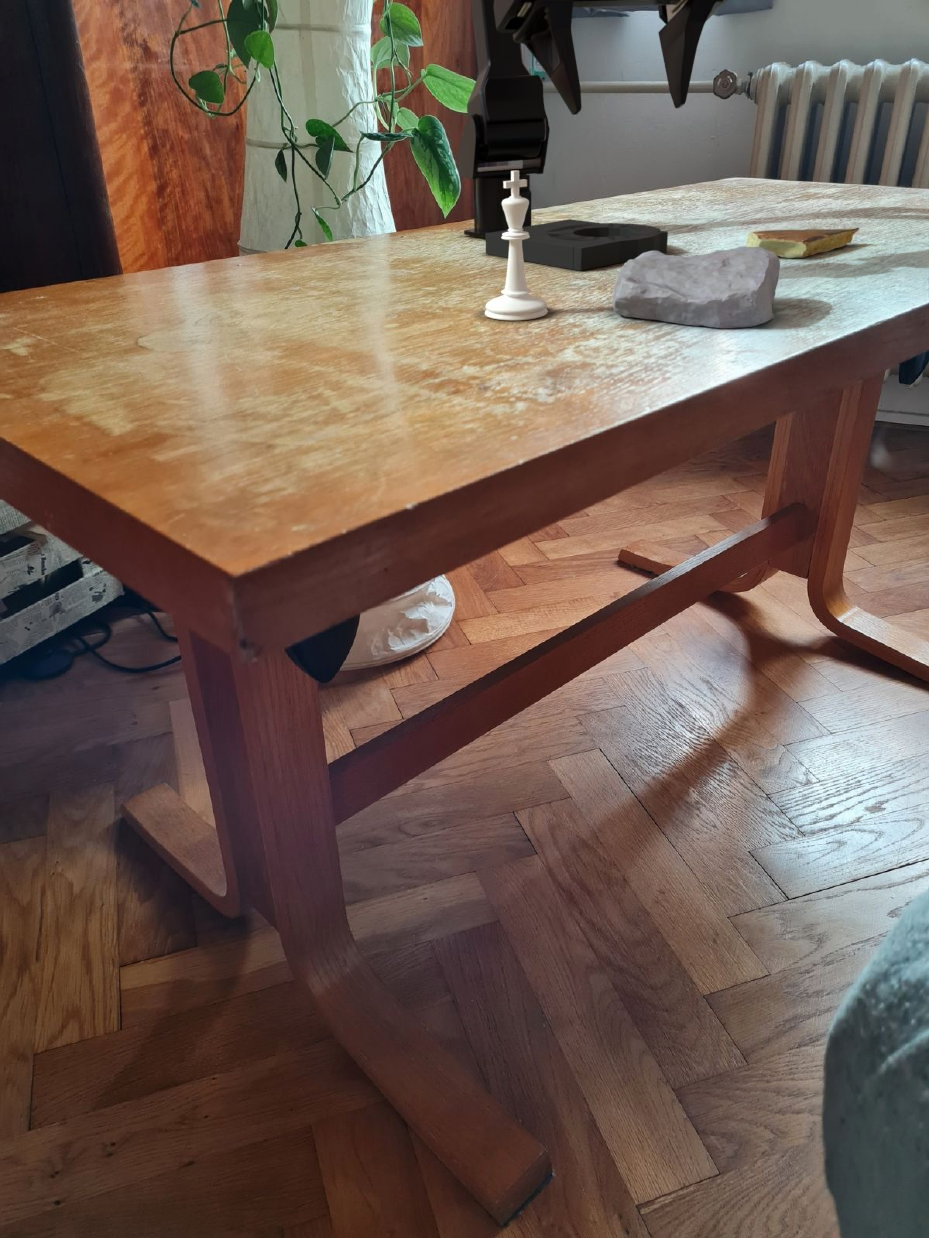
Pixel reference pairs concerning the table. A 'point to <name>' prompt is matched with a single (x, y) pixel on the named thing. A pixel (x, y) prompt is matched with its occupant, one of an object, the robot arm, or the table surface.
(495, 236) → the socket pad
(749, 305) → the stone block
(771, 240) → the yellow brown flat wedge
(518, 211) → the chess piece
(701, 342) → the table surface
